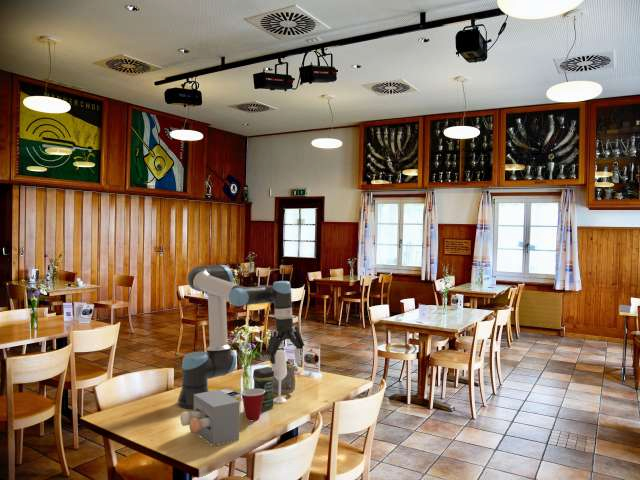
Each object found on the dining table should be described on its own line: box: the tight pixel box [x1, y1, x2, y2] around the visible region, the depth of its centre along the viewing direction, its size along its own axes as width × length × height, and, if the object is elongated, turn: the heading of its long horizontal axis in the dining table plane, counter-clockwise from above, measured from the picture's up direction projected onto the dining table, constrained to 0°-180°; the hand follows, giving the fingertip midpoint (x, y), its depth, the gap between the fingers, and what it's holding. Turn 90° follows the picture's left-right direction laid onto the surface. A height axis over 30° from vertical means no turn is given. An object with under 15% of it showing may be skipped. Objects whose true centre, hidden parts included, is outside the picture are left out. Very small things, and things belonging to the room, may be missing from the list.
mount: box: [193, 389, 241, 447], centre depth 198 cm, size 18×11×15 cm, turn 38°
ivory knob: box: [179, 410, 201, 427], centre depth 198 cm, size 5×11×5 cm, turn 128°
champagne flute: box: [273, 349, 287, 404], centre depth 241 cm, size 7×7×24 cm
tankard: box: [273, 360, 299, 395], centre depth 255 cm, size 20×13×15 cm, turn 33°
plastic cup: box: [240, 388, 265, 422], centre depth 217 cm, size 11×11×12 cm
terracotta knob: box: [188, 417, 211, 434], centre depth 191 cm, size 5×11×5 cm, turn 128°
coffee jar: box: [252, 366, 274, 412], centre depth 230 cm, size 10×8×19 cm
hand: (286, 367), depth 213 cm, fingers open, 13 cm apart
